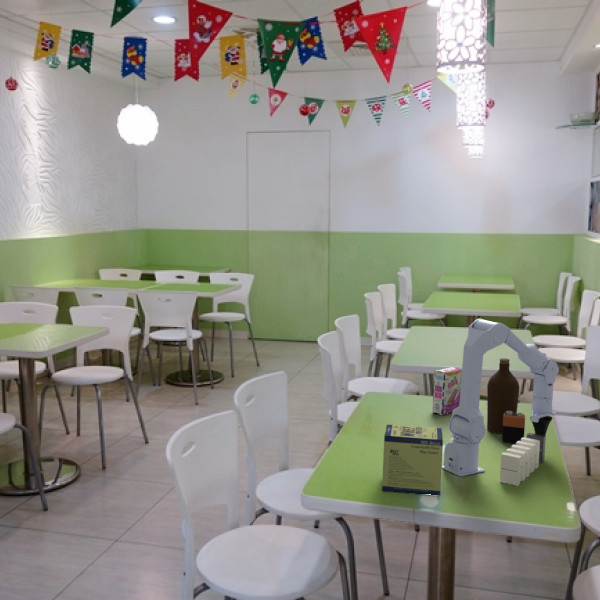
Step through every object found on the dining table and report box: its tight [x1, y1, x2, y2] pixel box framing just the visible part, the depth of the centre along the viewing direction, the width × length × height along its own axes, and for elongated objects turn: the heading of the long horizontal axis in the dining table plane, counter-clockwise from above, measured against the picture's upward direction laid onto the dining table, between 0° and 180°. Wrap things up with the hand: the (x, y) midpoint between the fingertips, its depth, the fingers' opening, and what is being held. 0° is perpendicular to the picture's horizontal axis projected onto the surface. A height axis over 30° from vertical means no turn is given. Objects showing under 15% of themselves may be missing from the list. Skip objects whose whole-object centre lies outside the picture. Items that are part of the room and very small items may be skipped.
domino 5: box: [521, 436, 540, 469], centre depth 204 cm, size 2×5×8 cm, turn 54°
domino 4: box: [515, 441, 536, 474], centre depth 200 cm, size 2×5×8 cm, turn 54°
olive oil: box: [486, 358, 520, 435], centre depth 237 cm, size 11×11×25 cm
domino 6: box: [526, 432, 547, 464], centre depth 208 cm, size 2×5×8 cm, turn 54°
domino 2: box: [505, 447, 526, 482], centre depth 194 cm, size 2×5×8 cm, turn 54°
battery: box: [501, 411, 526, 445], centre depth 226 cm, size 4×7×10 cm, turn 72°
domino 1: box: [499, 451, 521, 487], centre depth 190 cm, size 2×5×8 cm, turn 54°
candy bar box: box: [432, 366, 462, 416], centre depth 259 cm, size 11×5×16 cm, turn 133°
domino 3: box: [510, 444, 531, 478], centre depth 197 cm, size 2×5×8 cm, turn 54°
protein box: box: [381, 424, 444, 496], centre depth 186 cm, size 10×16×16 cm
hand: (540, 439), depth 212 cm, fingers closed
